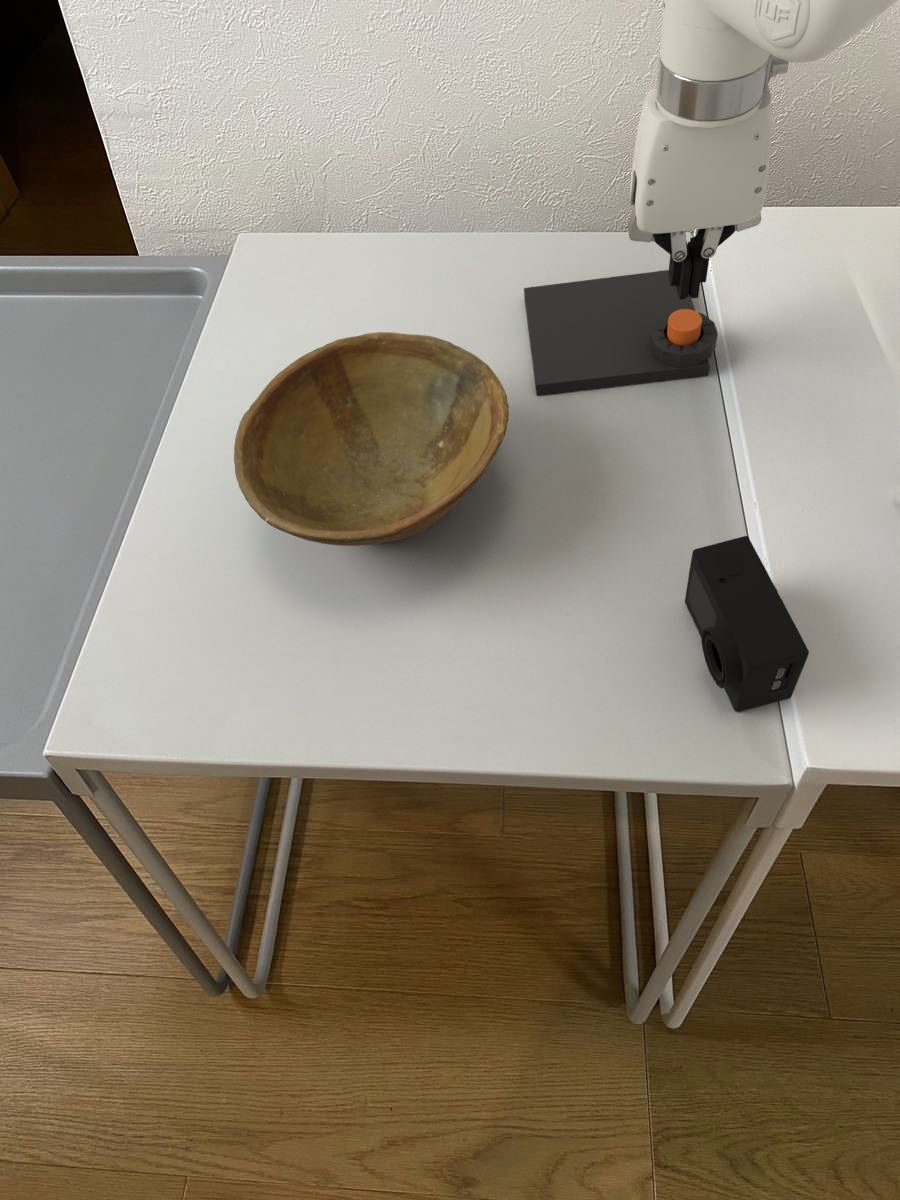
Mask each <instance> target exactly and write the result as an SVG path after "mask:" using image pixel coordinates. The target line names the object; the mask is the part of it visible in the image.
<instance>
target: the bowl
mask: <svg viewBox="0 0 900 1200" xmlns="http://www.w3.org/2000/svg"><path fill="white" fill-rule="evenodd" d="M509 407H510V406H509V403H508V395H507V392H506V390H505V387H504V386H503V383H502V382H501V380H500V379H499V377H498V376H497V375H496V374H495V372H494V370H493V369H491V367H490V366H489V364H488V363H486V362H485V361H484V360H482V359H480V357H479V356H477V355H476V354H474V353H472V352H470V351H468V350H466V349H464V348H463V347H460V346H458V345H456V344H454V343H452V342H450V341H448V340H445V339H442V338H439V337H436V336H431V335H425V334H424V335H423V334H410V333H399V332H390V331H389V332H386V331H378V332H369V333H368V332H367V333H364V334H361V335H357V336H349V337H345V338H344V337H343V338H339V339H336V340H334V341H331V342H329V343H326V344H324V345H323V346H321V347H318V348H315V349H314V350H312V351H310V352H307V353H305V354H304V355H302V356H300V357H299V358H297V359H296V360H294V361H293V362H291V363H290V364H289V365H287V366H286V367H285V368H284V369H282V370H281V371H279V372H277V374H276V375H275V376H274V377H273V378H272V379H271V380H270V381H269V382H268V384H266V386H265V388H263V389H262V391H261V392H260V393H259V395H258V397H257V398H256V399H255V400H254V401H253V402H252V404H251V405H250V406H249V409H247V410H246V411H245V413H244V414H243V416H242V417H241V419H240V422H239V423H238V424H239V425H238V427H237V431H236V434H235V438H234V446H233V447H234V448H233V451H234V452H233V462H234V463H233V464H234V475H235V479H236V482H237V484H238V487H239V489H240V492H241V493H242V495H243V497H244V499H245V501H246V502H247V503H248V505H249V506H250V508H251V509H252V510H253V511H254V512H255V513H256V514H257V515H258V516H259V518H260V519H262V520H263V521H264V522H266V523H267V524H268V525H270V526H271V527H273V528H275V529H276V530H278V531H281V532H283V533H285V534H289V535H291V536H294V537H295V538H299V539H301V540H305V541H308V542H314V543H317V544H318V543H319V544H323V545H332V546H346V547H348V546H349V547H350V546H352V547H353V546H354V547H355V546H357V547H358V546H359V547H360V546H369V545H377V544H384V543H389V542H395V541H400V540H403V539H407V538H409V537H412V536H415V535H416V534H419V533H421V532H423V531H424V530H427V528H429V527H431V526H432V525H433V524H435V523H436V522H437V521H438V520H439V519H441V518H442V517H443V516H445V515H446V514H448V512H450V511H451V510H453V509H454V508H455V507H456V506H457V505H458V504H459V503H460V502H461V501H462V500H463V498H465V496H466V495H467V494H469V492H470V491H471V489H472V488H473V486H474V485H475V484H476V483H477V482H478V480H480V478H481V477H482V475H483V474H484V473H485V471H486V470H487V468H488V466H489V465H490V463H491V462H492V460H493V459H494V457H496V455H497V453H498V451H499V449H500V447H501V445H502V444H503V439H504V438H505V436H506V434H507V428H508V422H509V417H510V411H509Z"/></svg>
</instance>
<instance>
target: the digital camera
mask: <svg viewBox="0 0 900 1200" xmlns="http://www.w3.org/2000/svg"><path fill="white" fill-rule="evenodd" d="M685 590H686V591H685V595H684V596H685V597H684V603H685V606H686V608H687V610H688V613H689V614H690V616H691V618H692V621H693V624H694V625H695V627H696V629H697V632H698V634H699V636H700V638H701V648H702V652H703V657H704V660H705V664H706V667H707V670H708V672H709V674H710V676H711V678H712V680H713V681H714V683H715V684H716V686H717V687H718V688H719V689H724V691H725V693H726V695H727V697H728V699H729V702H730V704H731V706H732V708H733V710H734V712H736V713H739V712H744V711H747V710H750V709H751V710H752V709H754V708H758V707H761V706H762V707H763V706H765V705H769V704H773V703H777V702H780V701H785V700H788V699H791V698H792V696H793V693H794V691H795V690H796V689H795V688H796V686H797V684H798V681H799V679H800V677H801V674H802V672H803V669H804V667H805V664H806V662H807V659H808V657H809V654H810V650H809V648H808V647H807V645H806V643H805V641H804V639H803V637H802V635H801V633H800V631H799V629H798V628H797V626H796V624H795V622H794V620H793V618H792V615H791V614H790V612H789V611H788V608H787V607H786V605H785V603H784V601H783V599H782V597H781V595H780V593H779V592H778V590H777V587H776V586H775V584H774V582H773V580H772V578H771V577H770V575H769V573H768V571H767V570H766V567H765V565H764V563H763V561H762V560H761V558H760V556H759V554H758V552H757V551H756V549H755V547H754V545H753V543H752V541H751V540H750V537H749V536H748V535H744V536H741V537H740V536H739V537H736V538H732V539H729V540H725V541H721V542H717V543H714V544H710V545H705V546H701V547H698V548H695V549H693V550H692V554H691V560H690V565H689V572H688V578H687V584H686V589H685Z"/></svg>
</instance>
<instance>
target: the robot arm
mask: <svg viewBox="0 0 900 1200" xmlns="http://www.w3.org/2000/svg"><path fill="white" fill-rule="evenodd" d="M898 1H899V0H663V5H662V16H661V17H662V18H661V30H660V31H661V32H660V45H659V59H658V73H657V87H655V88H652V89H649V91H648V92H647V94H646V95H645V98H644V100H643V104H642V107H641V111H640V116H639V121H638V126H637V131H636V136H635V142H634V149H633V156H632V165H631V172H630V181H629V200H630V204H631V206H633V208H632V212H631V214H630V217H629V220H628V223H627V227H626V229H627V232H628V237H629V240H630V241H633V242H642V243H651V242H654V243H655V244H656V245H657V246H659V247H660V248H661V249H663V250H664V251H665V252H666V253H668V254H669V263H668V264H669V265H668V270H669V273H668V276H669V283H670V286H676V289H677V293H678V296H679V300H682V299H686V297H688V294H689V297H691V298H692V299H698V298H699V295H700V289H701V284H702V283H706V282H707V277H708V271H709V264H710V259H711V258H713V257H714V256H715V255H716V252H717V250H718V247H720V246H721V245H722V244H723V243H724V242H725V241H727V240H728V239H729V238H730V237H731V236H732V235H733V234H735V232H737V233H738V232H742V231H744V230H747V229H752V228H754V227H757V226H758V225H760V224H761V222H762V210H763V208H764V204H765V201H766V197H767V190H768V182H769V175H770V174H769V173H770V164H771V151H772V150H771V149H772V131H773V130H772V129H773V114H772V111H773V110H772V108H773V107H772V106H773V105H772V94H771V91H770V86H769V83H770V81H771V79H772V78H775V77H776V76H777V75H784V74H787V72H788V69H789V63H799V64H802V63H809V62H814V61H817V60H819V59H822V58H825V57H826V56H827V55H829V54H831V53H833V52H835V50H838V49H839V48H840V47H841V46H842V45H844V44H845V43H846V42H848V41H849V40H850V39H852V38H853V37H854V36H855V35H857V34H858V33H860V31H862V30H863V29H864V28H866V27H867V26H868V25H870V24H871V23H872V22H873V21H874V20H875V19H876V18H877V17H878V16H880V15H881V14H883V13H884V12H886V11H887V10H888V9H889V8H891V7H892V6H893V5H894V4H895V3H897V2H898ZM687 231H695V233H694V237H690V239H689V241H688V240H687V233H686V232H687Z"/></svg>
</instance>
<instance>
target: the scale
mask: <svg viewBox="0 0 900 1200" xmlns="http://www.w3.org/2000/svg"><path fill="white" fill-rule="evenodd" d="M668 273H669V269H666V270H665V269H664V270H657V271H650V272H640V273H633V274H624V275H617V276H610V277H609V276H608V277H602V278H593V279H585V280H578V281H577V280H576V281H569V282H563V283H562V282H561V283H553V284H545V285H537V286H528V287H524V288H523V297H524V305H525V313H526V314H525V315H526V322H527V331H528V338H529V347H530V353H531V355H530V356H531V363H532V371H533V380H534V387H535V395H536V396H544V395H553V394H562V393H570V392H579V391H580V392H581V391H589V390H598V389H605V388H613V387H615V388H616V387H623V386H632V385H639V384H641V385H642V384H647V383H648V384H650V383H657V382H665V381H674V380H683V379H691V378H700V377H709V373H710V366H711V364H710V361H709V359H710V358H711V357H712V355H713V353H714V351H715V349H716V347H717V341H718V336H719V334H718V329H717V327H716V323H715V322H714V320H713V319H711V318H710V317H708V316H707V315H705V313H702V312H699V311H696V310H695V306H694V303H693V298H691V297H689V294H688V297H686V299H682V300H679V296H678V293H677V289H676V286H670V283H669V276H668ZM681 309H690V310H693V311H696V312H697V313H699V314H700V316H701V318H702V325H701V333H700V337H699V339H698V340H697V341H696V342H695V343H693V344H691V345H683V346H682V345H678V344H674V343H672V342H671V341H670V340H669V339H668V337H667V328H668V319H669V316H670V315H671V314H672V313H673V312H675V311H677V310H681Z"/></svg>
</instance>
